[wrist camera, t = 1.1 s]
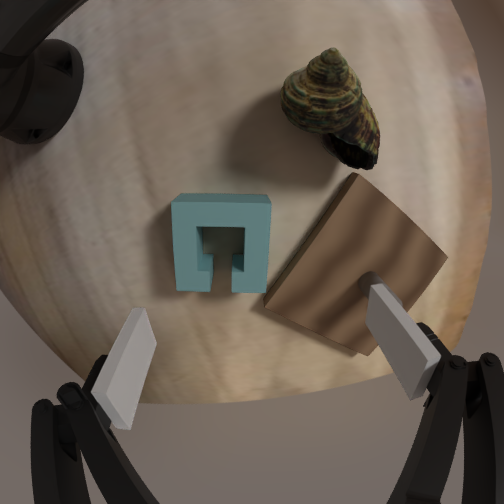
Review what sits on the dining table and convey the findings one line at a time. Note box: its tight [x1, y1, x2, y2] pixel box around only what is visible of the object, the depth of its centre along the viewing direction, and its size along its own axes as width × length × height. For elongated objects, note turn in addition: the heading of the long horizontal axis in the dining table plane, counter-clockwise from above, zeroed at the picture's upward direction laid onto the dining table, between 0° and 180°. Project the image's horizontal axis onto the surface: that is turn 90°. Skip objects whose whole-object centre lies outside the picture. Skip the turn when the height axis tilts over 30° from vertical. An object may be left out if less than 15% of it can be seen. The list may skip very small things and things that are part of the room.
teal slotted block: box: [171, 194, 272, 293], centre depth 31 cm, size 10×10×5 cm
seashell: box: [280, 48, 380, 170], centre depth 24 cm, size 11×11×10 cm
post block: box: [263, 172, 448, 356], centre depth 32 cm, size 20×20×9 cm
